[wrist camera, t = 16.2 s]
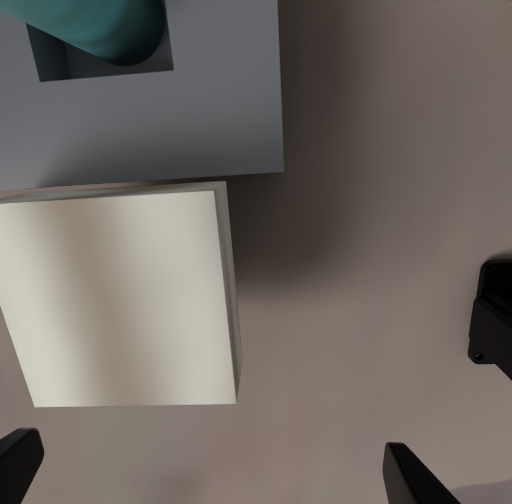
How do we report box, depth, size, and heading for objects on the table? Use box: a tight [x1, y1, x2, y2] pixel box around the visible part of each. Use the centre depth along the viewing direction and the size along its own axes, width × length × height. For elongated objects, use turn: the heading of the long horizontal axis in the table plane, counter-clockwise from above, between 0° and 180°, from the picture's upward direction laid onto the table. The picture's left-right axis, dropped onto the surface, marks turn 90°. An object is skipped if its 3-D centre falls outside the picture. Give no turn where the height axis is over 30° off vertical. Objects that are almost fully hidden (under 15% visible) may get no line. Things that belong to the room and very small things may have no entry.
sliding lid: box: [0, 181, 243, 407], centre depth 15 cm, size 9×9×3 cm
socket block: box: [0, 0, 284, 190], centre depth 14 cm, size 14×14×4 cm
